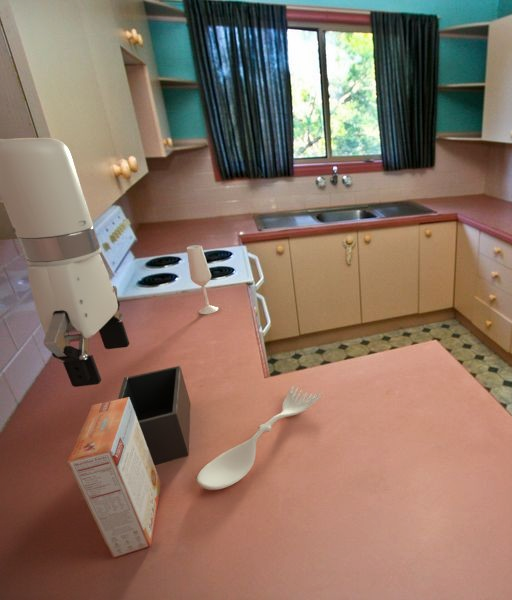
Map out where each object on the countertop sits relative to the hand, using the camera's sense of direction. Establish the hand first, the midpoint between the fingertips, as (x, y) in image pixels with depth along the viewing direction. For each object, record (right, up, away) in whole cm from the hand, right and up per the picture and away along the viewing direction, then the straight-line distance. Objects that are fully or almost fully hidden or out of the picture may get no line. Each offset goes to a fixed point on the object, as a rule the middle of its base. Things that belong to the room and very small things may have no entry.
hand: (103, 364), depth 59 cm
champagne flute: (-29, +5, +97) cm, 101 cm away
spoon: (+12, -22, +33) cm, 41 cm away
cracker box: (-5, -30, +16) cm, 34 cm away
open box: (-12, -21, +36) cm, 43 cm away
